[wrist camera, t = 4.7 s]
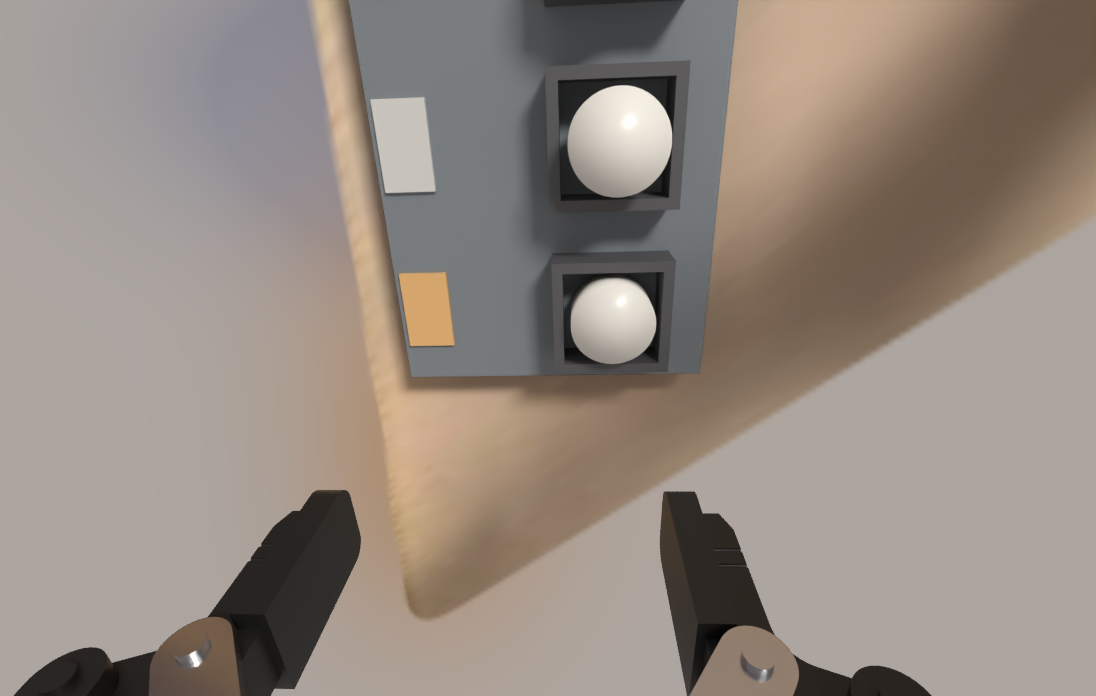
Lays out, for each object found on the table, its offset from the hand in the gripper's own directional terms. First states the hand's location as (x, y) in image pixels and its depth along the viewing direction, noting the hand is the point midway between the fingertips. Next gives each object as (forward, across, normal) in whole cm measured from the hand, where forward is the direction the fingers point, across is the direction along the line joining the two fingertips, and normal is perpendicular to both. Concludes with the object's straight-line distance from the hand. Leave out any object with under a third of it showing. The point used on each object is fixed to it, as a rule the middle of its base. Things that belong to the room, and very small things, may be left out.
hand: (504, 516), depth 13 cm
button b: (+13, -4, -8) cm, 16 cm away
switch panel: (+17, -1, -8) cm, 19 cm away
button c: (+14, -4, 0) cm, 15 cm away
